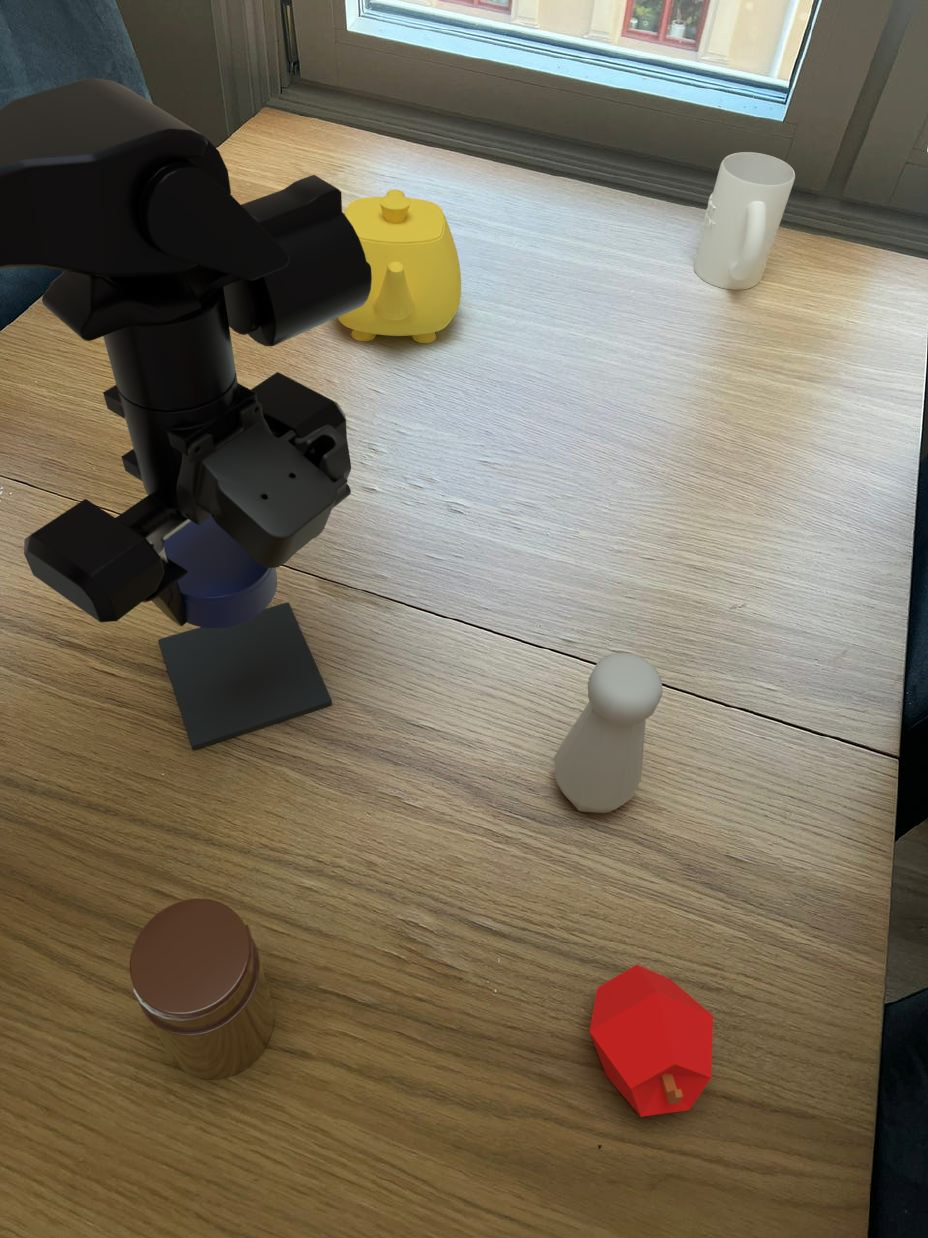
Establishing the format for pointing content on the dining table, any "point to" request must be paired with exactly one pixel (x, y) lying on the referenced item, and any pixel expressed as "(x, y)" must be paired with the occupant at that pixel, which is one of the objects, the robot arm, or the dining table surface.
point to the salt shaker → (609, 735)
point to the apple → (652, 1041)
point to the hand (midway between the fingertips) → (220, 587)
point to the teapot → (404, 268)
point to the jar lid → (219, 576)
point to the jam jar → (203, 987)
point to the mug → (743, 219)
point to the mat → (243, 676)
